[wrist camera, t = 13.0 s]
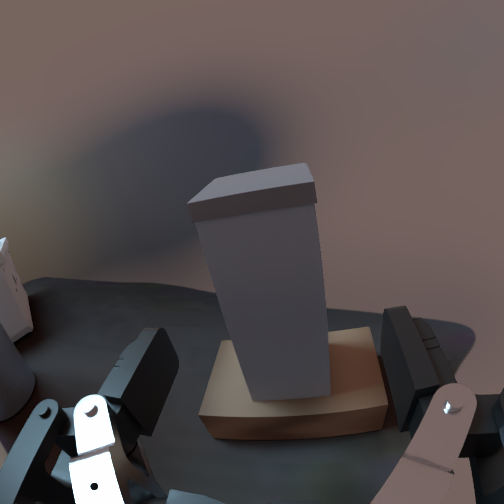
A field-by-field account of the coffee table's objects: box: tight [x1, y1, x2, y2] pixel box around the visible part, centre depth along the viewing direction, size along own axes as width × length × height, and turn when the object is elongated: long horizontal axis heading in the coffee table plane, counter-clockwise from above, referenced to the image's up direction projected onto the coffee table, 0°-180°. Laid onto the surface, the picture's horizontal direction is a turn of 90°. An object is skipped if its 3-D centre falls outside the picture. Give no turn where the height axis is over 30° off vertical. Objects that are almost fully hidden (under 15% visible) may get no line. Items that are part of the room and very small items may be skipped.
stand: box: [198, 327, 388, 440], centre depth 18 cm, size 11×7×3 cm, turn 82°
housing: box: [187, 163, 331, 401], centre depth 15 cm, size 5×5×12 cm
